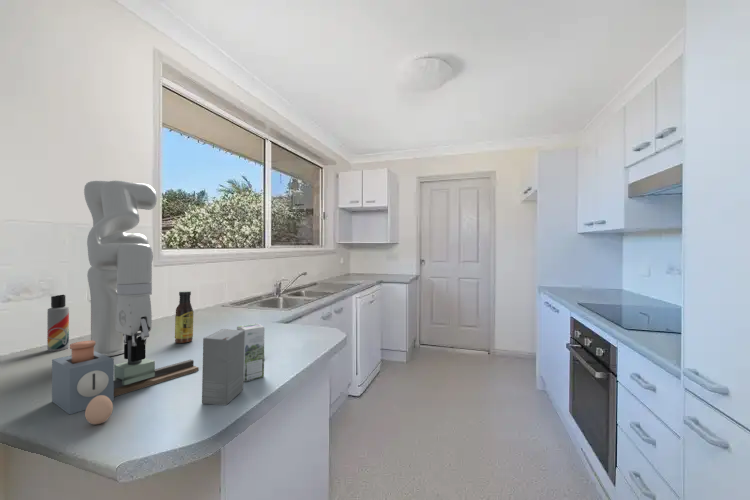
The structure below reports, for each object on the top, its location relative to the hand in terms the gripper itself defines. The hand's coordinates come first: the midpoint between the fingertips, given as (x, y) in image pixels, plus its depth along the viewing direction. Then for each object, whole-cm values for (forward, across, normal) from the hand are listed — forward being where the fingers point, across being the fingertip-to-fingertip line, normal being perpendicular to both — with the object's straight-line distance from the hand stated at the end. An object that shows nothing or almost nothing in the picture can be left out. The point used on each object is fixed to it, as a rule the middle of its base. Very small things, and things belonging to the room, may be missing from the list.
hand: (134, 358), depth 88 cm
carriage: (+5, 0, 0) cm, 5 cm away
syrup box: (+7, +21, +20) cm, 30 cm away
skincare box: (+7, +27, +8) cm, 29 cm away
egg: (+7, +16, -13) cm, 22 cm away
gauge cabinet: (+7, 0, -11) cm, 13 cm away
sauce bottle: (+8, -33, +30) cm, 45 cm away
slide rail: (+7, 0, +5) cm, 9 cm away
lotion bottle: (+7, -62, +1) cm, 62 cm away
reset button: (-3, 0, -11) cm, 11 cm away
